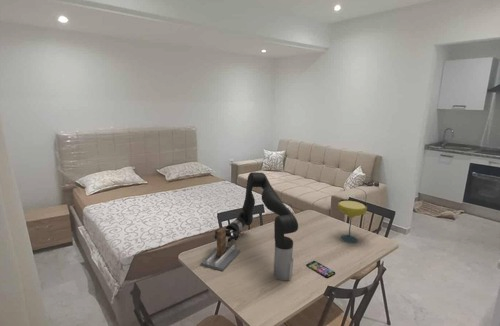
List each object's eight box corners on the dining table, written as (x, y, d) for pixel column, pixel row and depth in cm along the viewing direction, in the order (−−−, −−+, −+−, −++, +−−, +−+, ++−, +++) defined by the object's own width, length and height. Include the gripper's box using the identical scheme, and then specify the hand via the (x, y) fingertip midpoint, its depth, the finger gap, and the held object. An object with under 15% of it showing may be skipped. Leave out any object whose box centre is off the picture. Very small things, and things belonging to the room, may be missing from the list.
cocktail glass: (368, 239, 188) (372, 204, 183) (354, 248, 176) (358, 211, 171) (343, 230, 201) (346, 197, 196) (329, 238, 189) (332, 203, 184)
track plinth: (240, 252, 170) (240, 246, 169) (223, 271, 150) (223, 265, 149) (220, 247, 175) (220, 241, 174) (200, 265, 155) (200, 259, 155)
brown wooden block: (225, 254, 164) (225, 229, 161) (221, 258, 159) (221, 232, 156) (221, 253, 165) (221, 228, 162) (216, 257, 161) (216, 231, 157)
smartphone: (314, 260, 161) (336, 272, 150) (314, 261, 162) (336, 274, 150) (305, 264, 157) (327, 277, 145) (305, 266, 157) (327, 279, 145)
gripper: (224, 220, 177) (210, 230, 162) (244, 224, 172) (232, 235, 157) (224, 231, 179) (210, 242, 164) (244, 235, 173) (232, 247, 159)
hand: (221, 239), depth 160 cm, fingers open, 8 cm apart
